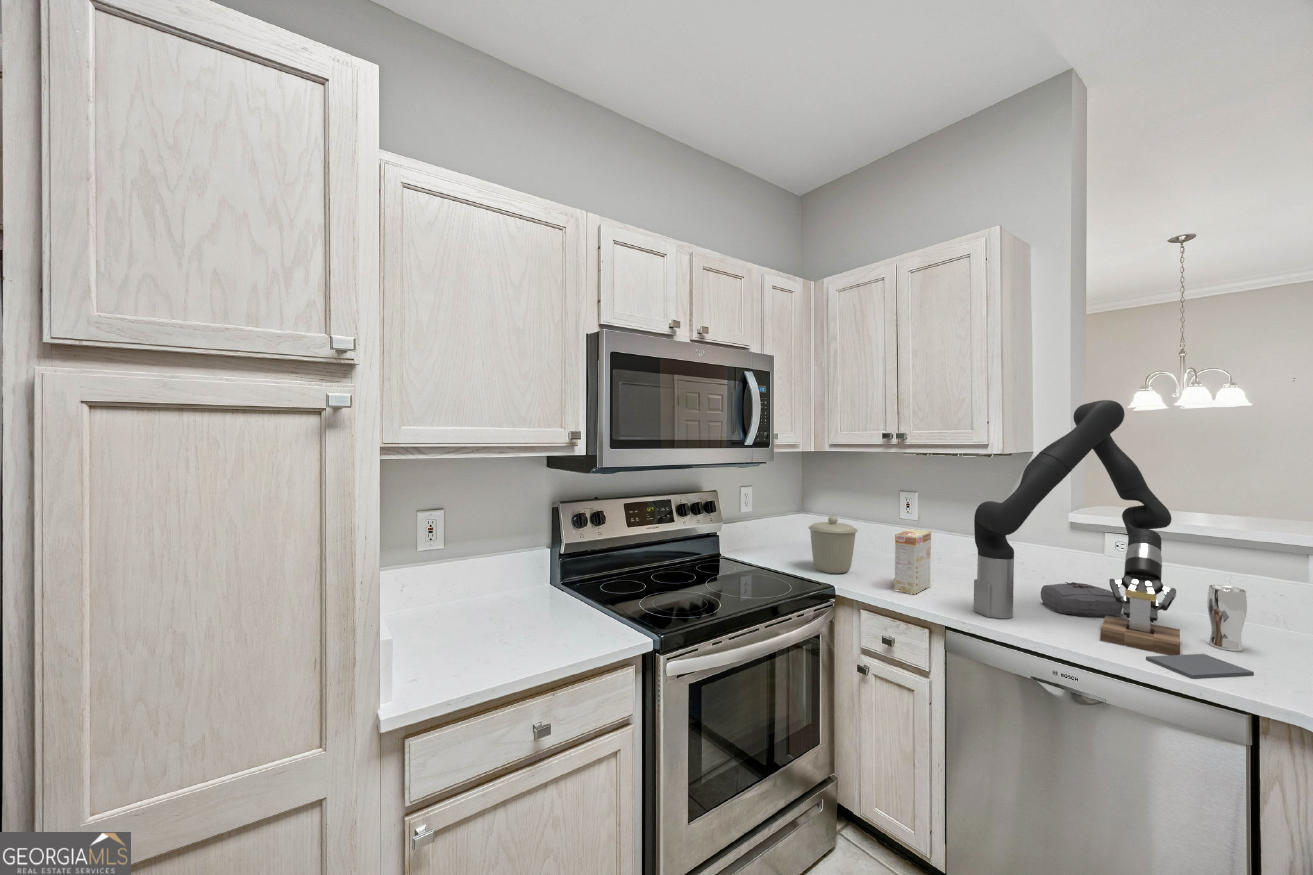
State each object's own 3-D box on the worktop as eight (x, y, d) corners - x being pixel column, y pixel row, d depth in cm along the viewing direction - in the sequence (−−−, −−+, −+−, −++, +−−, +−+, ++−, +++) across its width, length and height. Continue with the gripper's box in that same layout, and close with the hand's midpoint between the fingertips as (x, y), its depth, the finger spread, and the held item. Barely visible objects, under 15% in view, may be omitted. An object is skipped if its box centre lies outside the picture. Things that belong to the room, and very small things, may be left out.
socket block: (1179, 657, 132) (1180, 644, 132) (1100, 640, 142) (1100, 628, 142) (1179, 640, 143) (1179, 629, 143) (1105, 626, 153) (1105, 615, 153)
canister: (798, 569, 213) (799, 515, 213) (824, 562, 225) (825, 511, 224) (840, 579, 199) (841, 521, 199) (865, 571, 211) (866, 517, 211)
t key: (1155, 640, 142) (1156, 592, 142) (1154, 644, 139) (1156, 595, 139) (1125, 634, 146) (1126, 587, 146) (1123, 638, 143) (1125, 590, 143)
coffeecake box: (910, 582, 196) (911, 528, 196) (931, 586, 191) (932, 531, 191) (893, 590, 185) (894, 533, 185) (915, 595, 180) (916, 536, 180)
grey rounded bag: (1062, 617, 161) (1137, 621, 158) (1062, 589, 161) (1138, 592, 158) (1034, 601, 176) (1102, 605, 173) (1034, 575, 176) (1103, 578, 173)
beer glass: (1198, 641, 142) (1199, 584, 142) (1222, 641, 143) (1224, 584, 143) (1228, 652, 135) (1230, 592, 135) (1254, 652, 136) (1255, 592, 136)
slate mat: (1192, 678, 120) (1192, 674, 120) (1145, 659, 130) (1145, 656, 130) (1253, 675, 123) (1253, 671, 123) (1203, 657, 132) (1203, 653, 132)
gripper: (1108, 551, 153) (1103, 604, 144) (1179, 560, 143) (1178, 617, 134) (1110, 567, 157) (1105, 619, 148) (1178, 576, 147) (1177, 633, 138)
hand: (1139, 618), depth 141 cm, fingers closed on t key, 4 cm apart
